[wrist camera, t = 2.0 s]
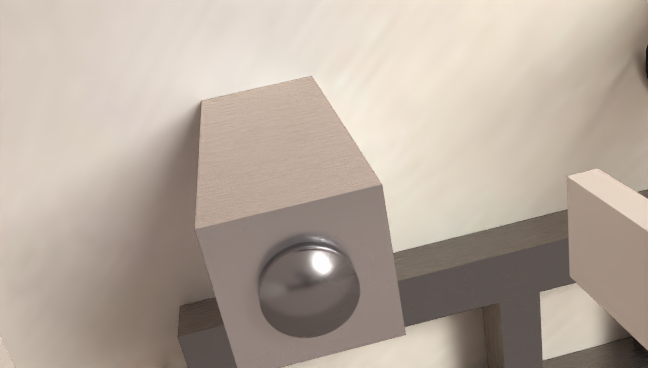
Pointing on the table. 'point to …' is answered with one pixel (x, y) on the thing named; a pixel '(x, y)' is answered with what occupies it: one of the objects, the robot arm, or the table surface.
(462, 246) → the grey flat frame
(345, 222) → the grey tall block
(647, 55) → the multimeter
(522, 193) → the table surface
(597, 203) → the robot arm
